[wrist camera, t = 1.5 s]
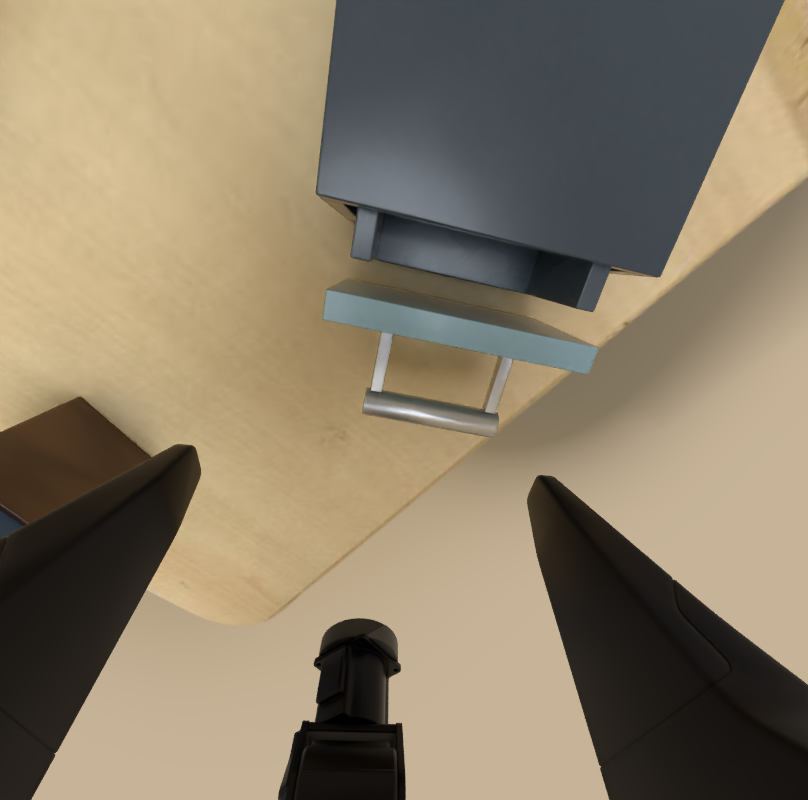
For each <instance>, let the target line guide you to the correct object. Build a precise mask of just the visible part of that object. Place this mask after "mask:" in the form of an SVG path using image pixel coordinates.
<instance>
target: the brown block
mask: <svg viewBox="0 0 808 800" xmlns="http://www.w3.org/2000/svg"><path fill="white" fill-rule="evenodd" d="M150 458H151V457H149V456H148V455H147V454H146V453H145V452H144V451H142V450H141V449H140V448H139V447H138V446H137V445H135V444H134V443H133V442H132V441H131V440H130V439H128V438H127V437H126V436H125V435H124V434H123V433H121V432H120V431H119V430H118V429H117V428H116V427H114V426H113V425H112V424H111V423H110V422H109V421H107V420H106V419H105V418H104V417H103V416H102V415H100V414H99V413H98V412H97V411H96V410H95V409H93V408H92V407H91V406H90V405H89V404H88V403H86V402H85V401H84V400H83V399H82V398H81V397H77V398H75V399H73V400H71V401H68V402H66V403H64V404H62V405H60V406H57V407H55V408H53V409H51V410H48V411H46V412H44V413H42V414H40V415H37V416H35V417H33V418H31V419H28V420H26V421H24V422H22V423H20V424H17V425H15V426H13V427H11V428H9V429H6V430H4V431H2V432H0V509H1V510H2V511H3V512H5V513H6V514H8V515H9V516H11V517H12V518H14V519H15V520H17V521H18V522H19V523H21V524H22V525H24V526H25V525H27V524H29V523H30V522H32V521H34V520H36V519H38V518H40V517H42V516H44V515H45V514H47V513H49V512H51V511H53V510H55V509H57V508H58V507H60V506H62V505H64V504H66V503H68V502H70V501H71V500H73V499H75V498H77V497H79V496H81V495H83V494H84V493H86V492H88V491H90V490H92V489H94V488H96V487H98V486H99V485H101V484H103V483H105V482H107V481H109V480H111V479H112V478H114V477H116V476H118V475H120V474H122V473H124V472H125V471H127V470H129V469H131V468H133V467H135V466H137V465H138V464H140V463H142V462H144V461H146V460H148V459H150Z"/></svg>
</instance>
